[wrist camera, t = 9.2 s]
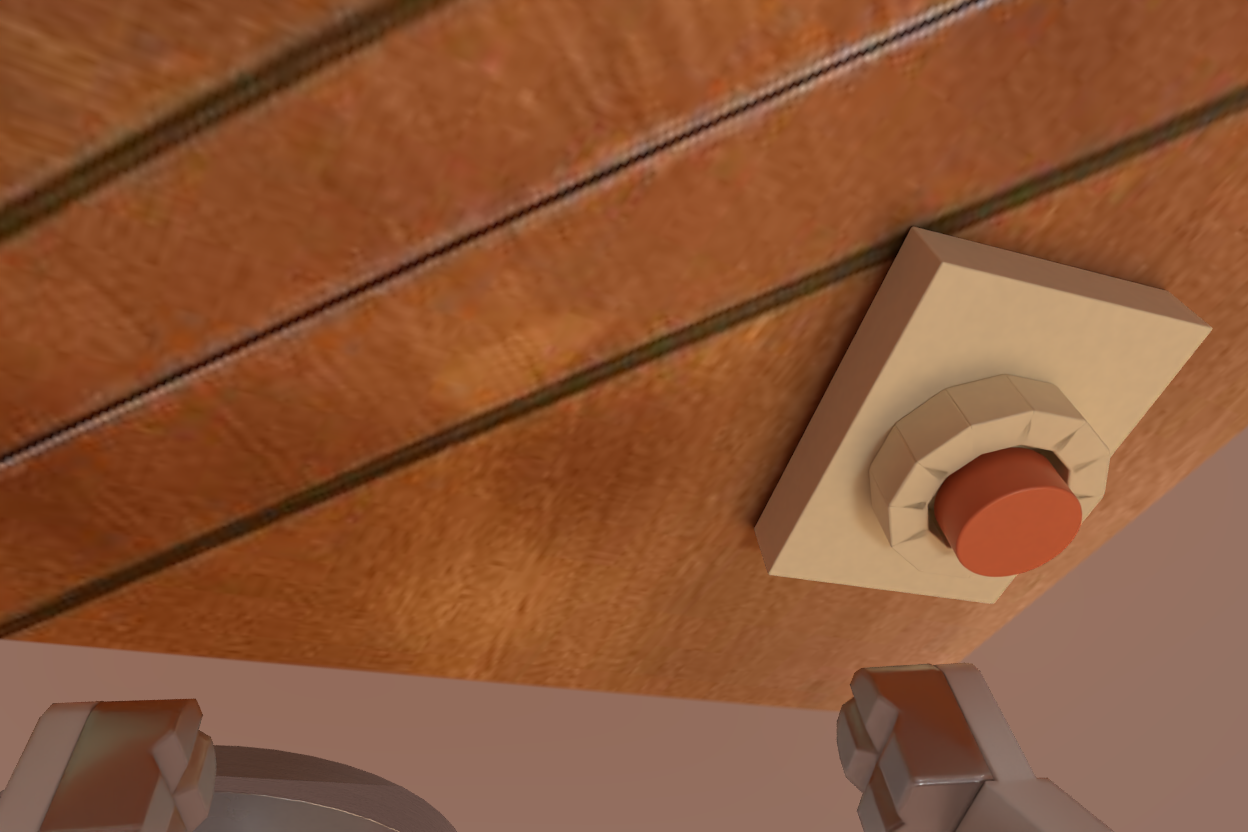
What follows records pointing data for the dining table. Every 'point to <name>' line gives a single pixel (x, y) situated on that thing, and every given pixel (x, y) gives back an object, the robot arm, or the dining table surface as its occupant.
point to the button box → (965, 406)
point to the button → (1007, 512)
